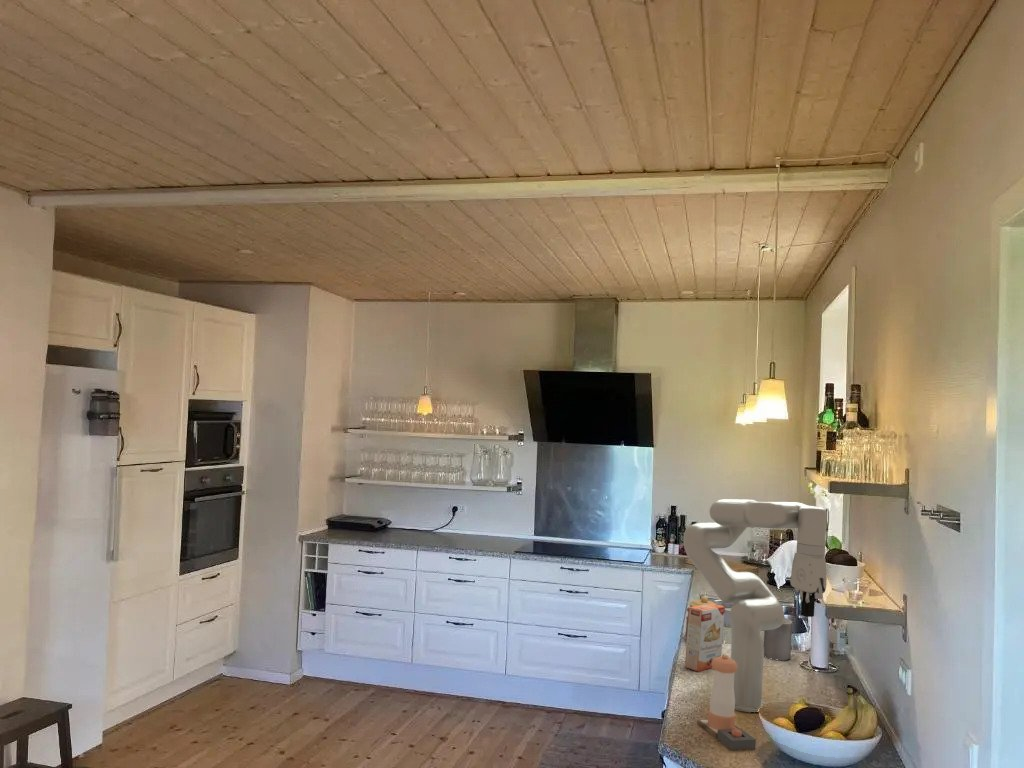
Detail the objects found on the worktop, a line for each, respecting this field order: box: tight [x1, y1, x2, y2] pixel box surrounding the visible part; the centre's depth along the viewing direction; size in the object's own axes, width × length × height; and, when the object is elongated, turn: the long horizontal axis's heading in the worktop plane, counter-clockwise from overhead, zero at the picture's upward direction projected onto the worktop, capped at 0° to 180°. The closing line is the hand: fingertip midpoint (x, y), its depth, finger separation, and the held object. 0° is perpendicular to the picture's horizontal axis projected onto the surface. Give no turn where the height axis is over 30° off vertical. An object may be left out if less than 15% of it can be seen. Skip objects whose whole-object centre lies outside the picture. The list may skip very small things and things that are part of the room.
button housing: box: [716, 727, 757, 751], centre depth 203 cm, size 7×7×2 cm
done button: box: [731, 729, 742, 737], centre depth 204 cm, size 3×3×2 cm
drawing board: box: [696, 718, 739, 739], centre depth 212 cm, size 10×9×1 cm
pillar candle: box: [763, 617, 793, 661], centre depth 286 cm, size 10×10×15 cm
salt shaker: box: [707, 654, 738, 730], centre depth 213 cm, size 7×7×19 cm
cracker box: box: [684, 603, 726, 672], centre depth 268 cm, size 14×6×21 cm, turn 131°
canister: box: [684, 595, 716, 642], centre depth 299 cm, size 13×13×18 cm
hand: (807, 615), depth 216 cm, fingers closed
